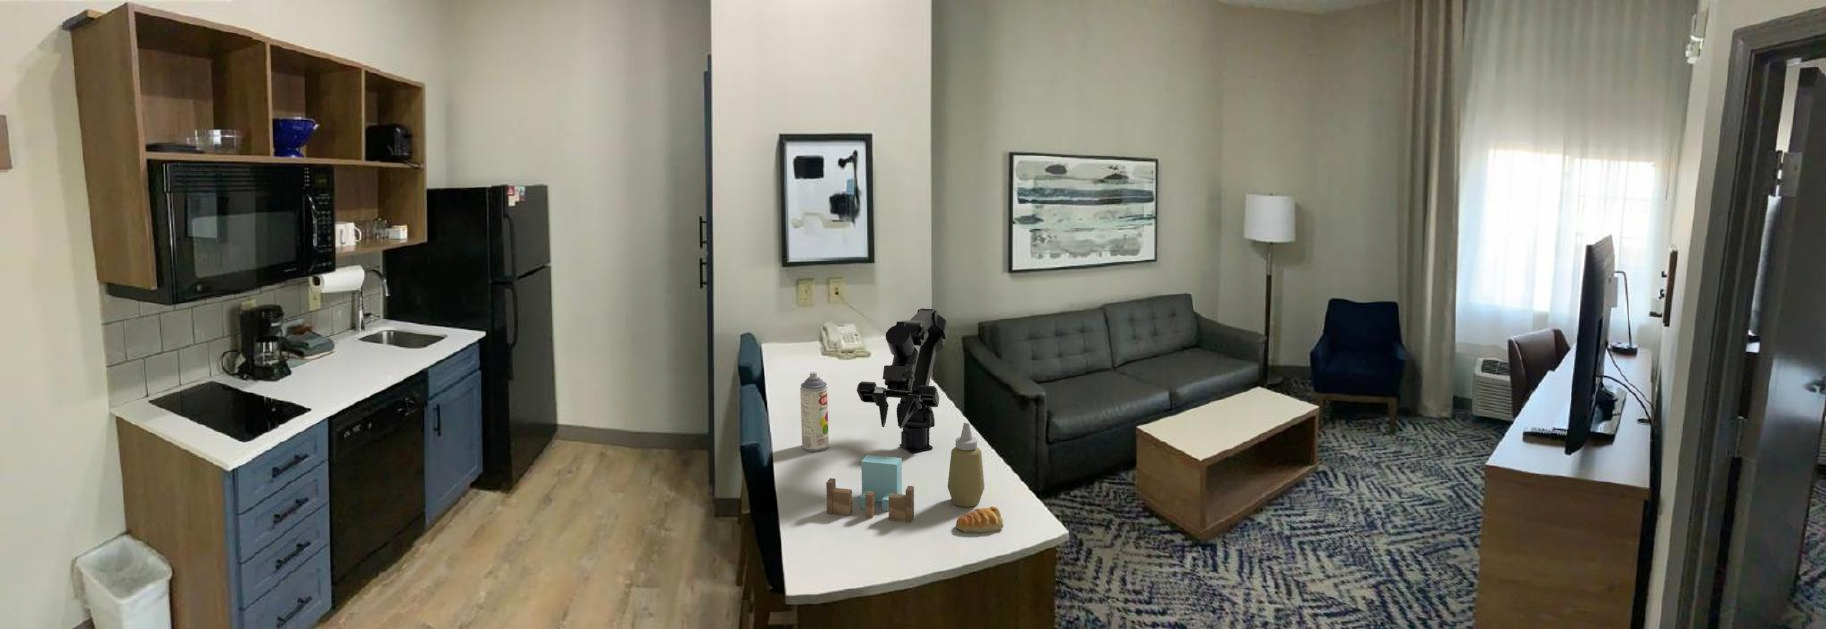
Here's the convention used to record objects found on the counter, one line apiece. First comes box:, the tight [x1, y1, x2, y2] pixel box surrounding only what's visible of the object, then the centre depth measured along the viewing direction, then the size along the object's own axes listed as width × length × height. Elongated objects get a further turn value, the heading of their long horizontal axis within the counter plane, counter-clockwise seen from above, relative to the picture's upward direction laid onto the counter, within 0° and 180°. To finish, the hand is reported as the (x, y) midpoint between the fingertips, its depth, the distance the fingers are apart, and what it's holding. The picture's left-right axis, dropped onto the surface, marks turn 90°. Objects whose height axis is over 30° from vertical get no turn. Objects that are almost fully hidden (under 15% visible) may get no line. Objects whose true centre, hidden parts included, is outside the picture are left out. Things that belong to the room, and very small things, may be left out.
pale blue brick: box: [859, 454, 903, 512], centre depth 178 cm, size 8×8×9 cm
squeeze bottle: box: [947, 422, 985, 508], centre depth 177 cm, size 8×8×18 cm
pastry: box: [955, 506, 1005, 534], centre depth 167 cm, size 9×7×4 cm
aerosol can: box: [799, 371, 830, 453], centre depth 210 cm, size 7×7×20 cm
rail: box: [825, 477, 915, 523], centre depth 172 cm, size 2×18×7 cm, turn 76°
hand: (891, 426), depth 187 cm, fingers open, 4 cm apart
